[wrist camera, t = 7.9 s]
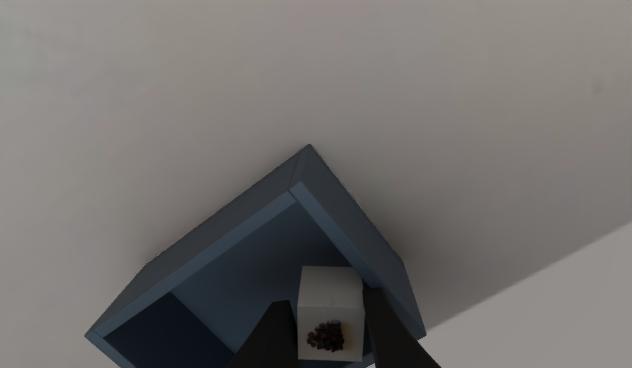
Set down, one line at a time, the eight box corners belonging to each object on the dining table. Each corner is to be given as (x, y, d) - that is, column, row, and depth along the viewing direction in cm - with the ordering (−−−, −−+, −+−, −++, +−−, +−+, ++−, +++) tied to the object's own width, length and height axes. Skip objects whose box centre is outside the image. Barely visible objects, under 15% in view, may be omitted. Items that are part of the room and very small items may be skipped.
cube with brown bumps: (358, 314, 14) (362, 368, 12) (303, 312, 14) (296, 365, 12) (361, 266, 13) (366, 313, 11) (302, 265, 13) (295, 311, 11)
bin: (309, 143, 15) (300, 180, 11) (404, 263, 17) (427, 335, 13) (143, 266, 17) (82, 336, 13) (240, 360, 19) (214, 448, 15)
